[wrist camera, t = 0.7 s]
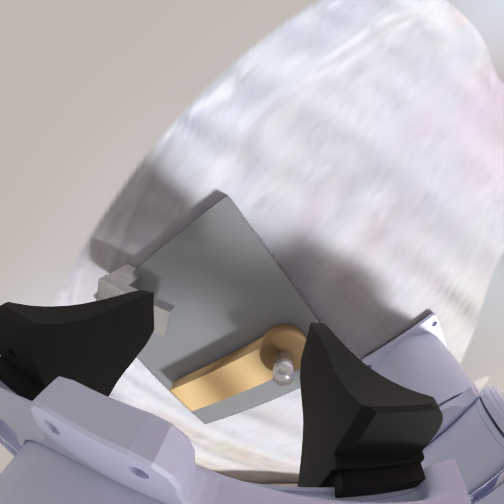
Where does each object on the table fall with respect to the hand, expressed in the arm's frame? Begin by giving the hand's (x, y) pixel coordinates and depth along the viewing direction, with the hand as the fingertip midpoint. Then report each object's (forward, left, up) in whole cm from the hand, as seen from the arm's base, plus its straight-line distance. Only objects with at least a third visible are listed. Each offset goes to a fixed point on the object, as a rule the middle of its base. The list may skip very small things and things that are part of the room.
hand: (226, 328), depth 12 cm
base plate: (-3, +6, -9) cm, 12 cm away
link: (-6, +6, -8) cm, 12 cm away
